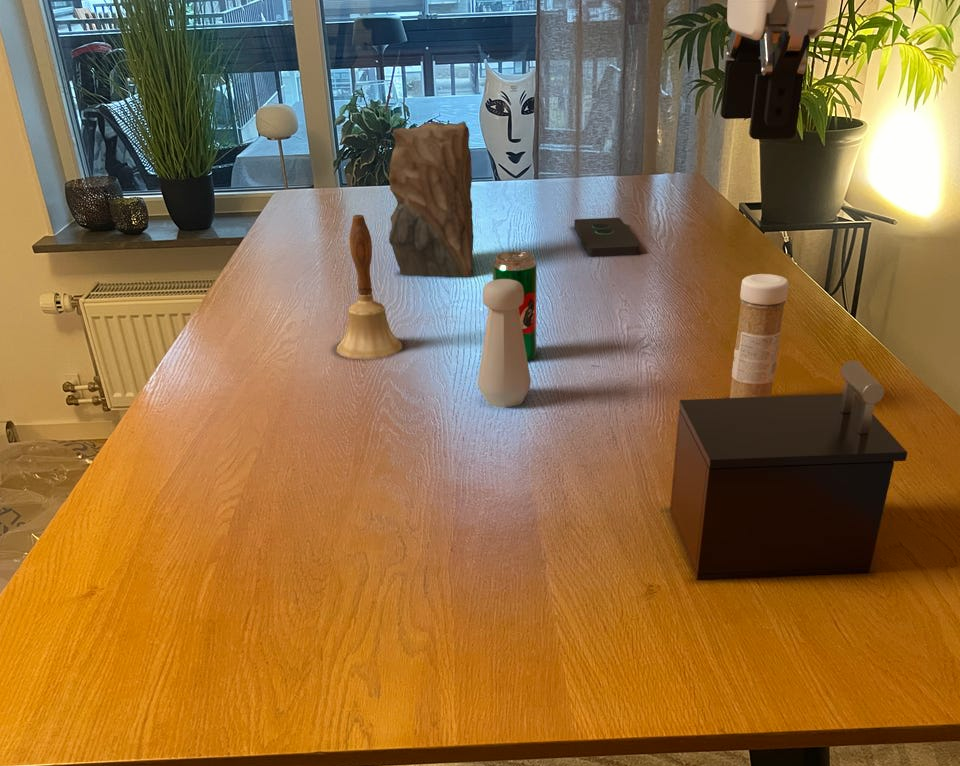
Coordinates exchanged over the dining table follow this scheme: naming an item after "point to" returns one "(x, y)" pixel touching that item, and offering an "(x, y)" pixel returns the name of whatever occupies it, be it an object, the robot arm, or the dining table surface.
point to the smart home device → (606, 237)
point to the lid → (795, 427)
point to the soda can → (524, 272)
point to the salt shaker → (503, 346)
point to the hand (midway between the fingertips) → (755, 127)
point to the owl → (432, 200)
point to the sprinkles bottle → (758, 335)
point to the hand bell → (366, 306)
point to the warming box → (775, 515)
